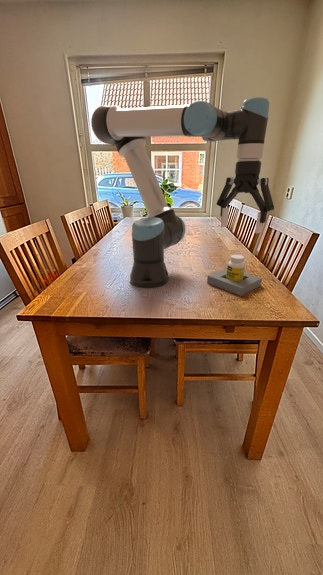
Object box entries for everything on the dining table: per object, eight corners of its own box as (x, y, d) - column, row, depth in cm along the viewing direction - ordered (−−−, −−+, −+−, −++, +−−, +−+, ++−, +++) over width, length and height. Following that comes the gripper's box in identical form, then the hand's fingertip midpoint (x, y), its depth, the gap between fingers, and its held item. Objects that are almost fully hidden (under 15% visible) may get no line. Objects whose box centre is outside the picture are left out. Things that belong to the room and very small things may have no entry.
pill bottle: (222, 284, 94) (225, 256, 90) (230, 279, 98) (233, 252, 94) (237, 289, 90) (241, 260, 86) (245, 283, 95) (249, 256, 90)
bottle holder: (240, 296, 85) (242, 288, 84) (207, 282, 96) (207, 275, 95) (260, 285, 93) (262, 278, 92) (227, 274, 103) (228, 267, 102)
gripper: (295, 159, 70) (280, 233, 79) (223, 162, 88) (218, 223, 97) (282, 158, 66) (268, 237, 75) (209, 161, 83) (205, 225, 92)
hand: (240, 229), depth 86 cm, fingers open, 13 cm apart
